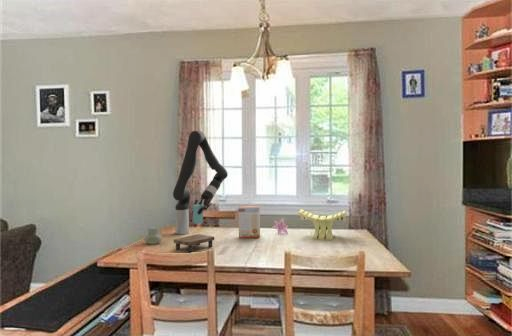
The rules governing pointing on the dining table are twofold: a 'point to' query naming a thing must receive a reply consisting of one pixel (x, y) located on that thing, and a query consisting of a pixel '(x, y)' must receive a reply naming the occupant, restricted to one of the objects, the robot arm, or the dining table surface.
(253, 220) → the cracker box
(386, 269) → the dining table surface
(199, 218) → the teal post
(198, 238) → the small wooden table
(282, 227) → the lily
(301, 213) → the slatted curved stool
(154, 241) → the air freshener
